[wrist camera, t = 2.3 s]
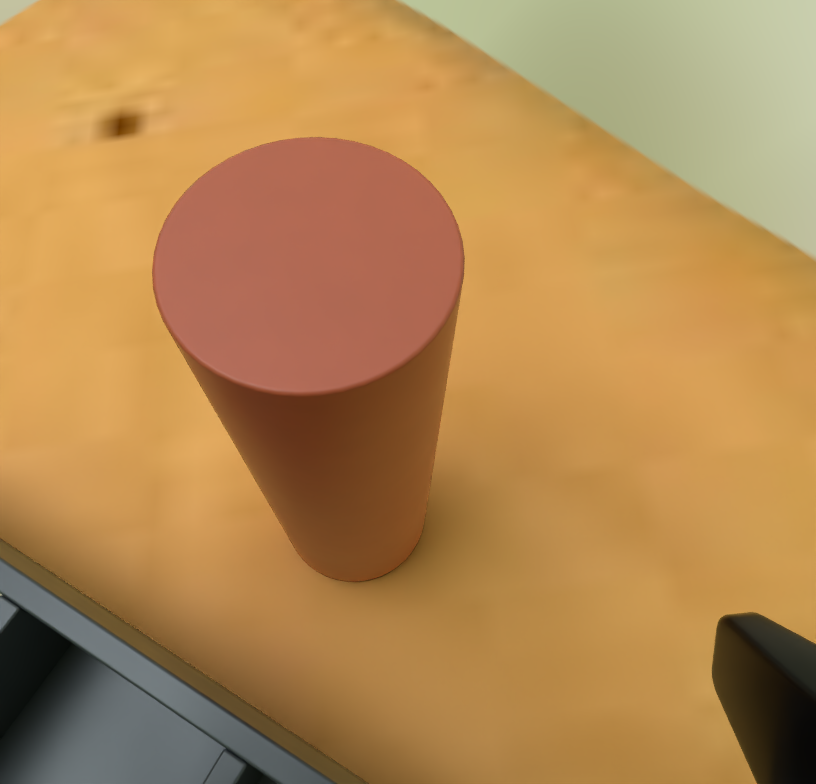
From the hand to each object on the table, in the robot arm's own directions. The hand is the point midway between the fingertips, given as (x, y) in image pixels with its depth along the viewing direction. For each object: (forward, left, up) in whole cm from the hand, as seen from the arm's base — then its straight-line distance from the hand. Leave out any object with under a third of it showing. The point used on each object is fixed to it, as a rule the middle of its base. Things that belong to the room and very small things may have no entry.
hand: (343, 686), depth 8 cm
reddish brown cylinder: (+4, +3, -11) cm, 12 cm away
